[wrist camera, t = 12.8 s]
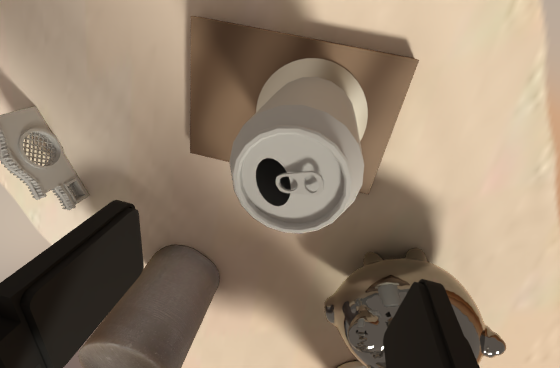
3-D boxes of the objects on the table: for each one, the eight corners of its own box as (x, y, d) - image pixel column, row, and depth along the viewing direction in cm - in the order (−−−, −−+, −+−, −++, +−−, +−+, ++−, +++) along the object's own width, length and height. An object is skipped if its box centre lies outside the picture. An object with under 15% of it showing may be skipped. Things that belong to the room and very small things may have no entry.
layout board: (414, 58, 23) (419, 60, 21) (367, 186, 29) (368, 195, 27) (199, 16, 24) (189, 16, 23) (196, 147, 30) (189, 153, 29)
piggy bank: (318, 238, 33) (309, 329, 23) (466, 226, 29) (533, 331, 19) (334, 305, 38) (332, 405, 28) (462, 303, 33) (514, 419, 24)
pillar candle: (164, 292, 43) (90, 407, 30) (145, 241, 38) (47, 351, 25) (226, 298, 41) (175, 423, 28) (213, 245, 36) (146, 365, 23)
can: (259, 84, 24) (198, 126, 14) (350, 66, 22) (360, 99, 12) (278, 164, 27) (240, 248, 17) (358, 155, 25) (372, 242, 15)
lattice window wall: (92, 196, 36) (52, 223, 31) (82, 197, 37) (40, 225, 32) (36, 102, 31) (-23, 116, 26) (25, 105, 32) (-36, 120, 27)
